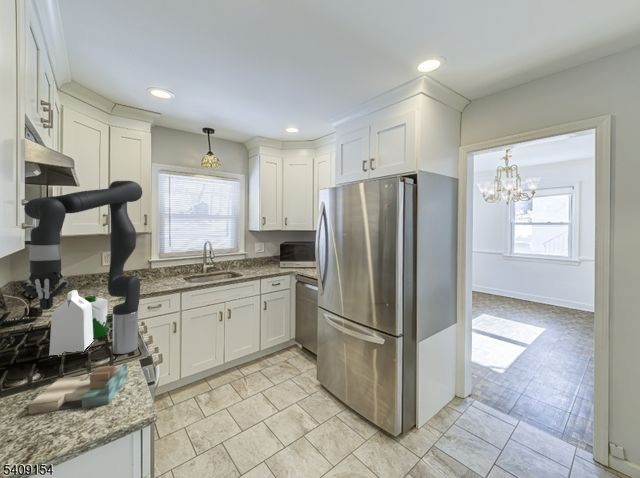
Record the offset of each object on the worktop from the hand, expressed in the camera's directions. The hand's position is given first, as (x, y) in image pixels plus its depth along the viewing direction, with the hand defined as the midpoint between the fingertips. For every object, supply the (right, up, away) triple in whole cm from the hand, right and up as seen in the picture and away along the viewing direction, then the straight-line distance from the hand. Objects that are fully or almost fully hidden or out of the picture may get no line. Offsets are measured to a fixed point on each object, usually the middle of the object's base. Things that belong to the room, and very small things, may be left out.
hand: (46, 309), depth 92 cm
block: (+21, -25, -2) cm, 32 cm away
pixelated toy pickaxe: (+15, -28, -3) cm, 31 cm away
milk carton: (-19, -25, +44) cm, 54 cm away
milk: (-17, -26, +29) cm, 42 cm away
